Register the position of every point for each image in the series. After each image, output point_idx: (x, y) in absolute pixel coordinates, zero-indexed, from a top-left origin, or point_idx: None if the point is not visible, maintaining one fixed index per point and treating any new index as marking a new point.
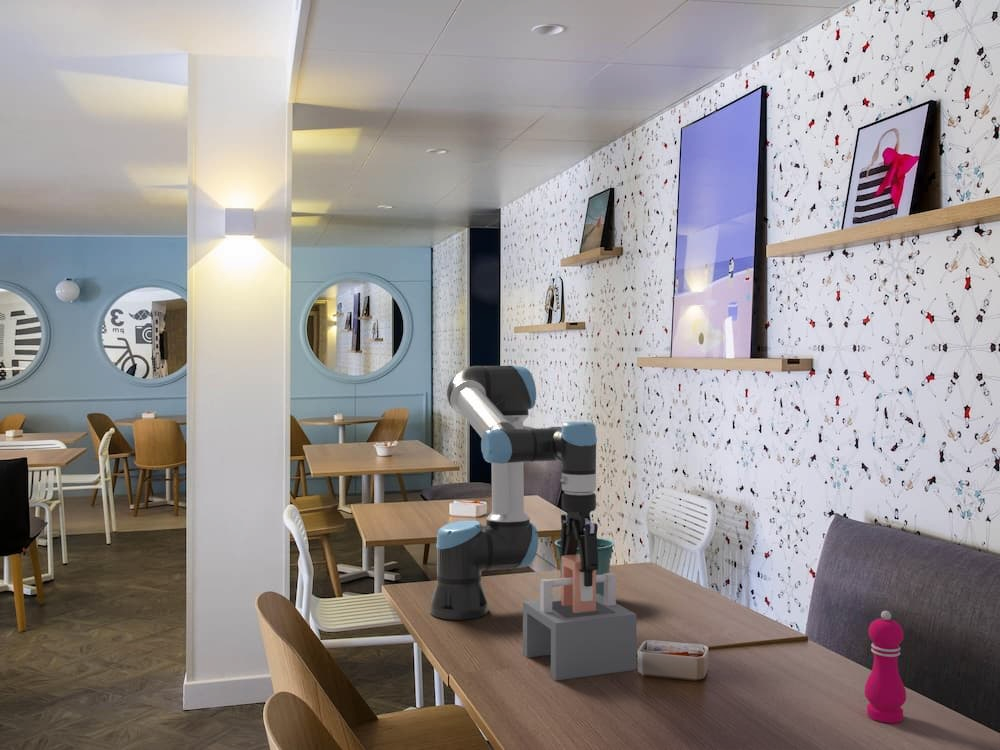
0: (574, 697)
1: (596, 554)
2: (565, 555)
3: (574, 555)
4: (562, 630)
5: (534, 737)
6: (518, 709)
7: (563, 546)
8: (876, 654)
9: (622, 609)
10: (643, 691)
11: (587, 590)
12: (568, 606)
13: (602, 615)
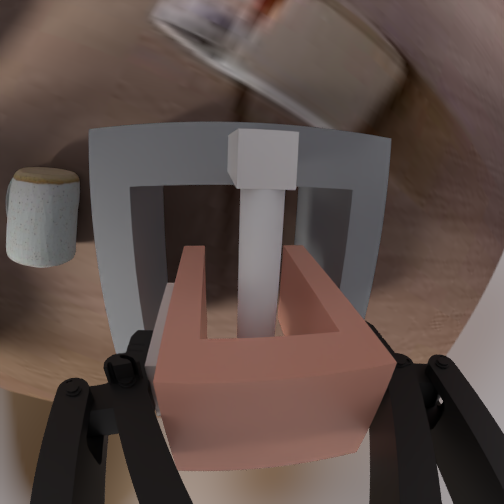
0: (380, 306)
1: (481, 411)
2: (179, 460)
3: (193, 432)
4: None
5: None
6: None
7: (104, 479)
8: None
9: (327, 146)
10: (413, 193)
11: None
12: (141, 265)
13: (357, 249)
